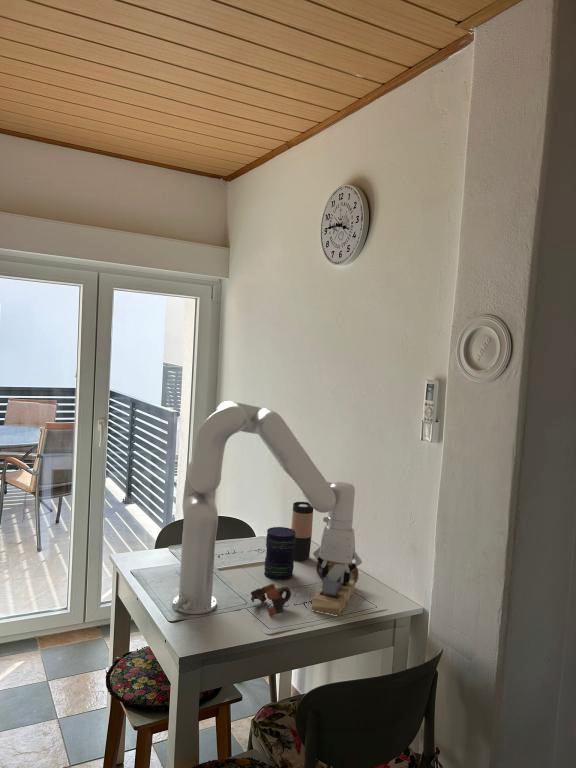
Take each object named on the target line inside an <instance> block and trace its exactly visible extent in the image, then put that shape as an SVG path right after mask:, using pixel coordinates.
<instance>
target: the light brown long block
mask: <svg viewBox="0 0 576 768" xmlns="http://www.w3.org/2000/svg"><path fill="white" fill-rule="evenodd" d="M355 587H356V583H355V580H354V579H350V581H349V582H348V583H347V584H346V587H345V586H341V588H340V589H339V590H338V595H337V599H336V598H331V597H327V596H323V592H322V586H321V587H320V588H319V589H318V591H317V592H316V593H315V594H314V596H313V597H312V602H311V611H312V610H314V611H319V612H323V613H329V614H333V615H337V616H338V615H339V614H340V615H341V613H342V612H343V610H344V609H345V607H346V606H345V605H348V603H347V602H349V601H350V600H349V599H351V598H352V597H353V595H354V593H355V591H356V589H355ZM351 596H352V597H351ZM343 608H344V609H343ZM342 609H343V610H342ZM341 611H342V612H341ZM340 612H341V613H340ZM340 615H339V616H340Z"/></svg>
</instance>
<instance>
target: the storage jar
mask: <svg viewBox="0 0 576 768" xmlns="http://www.w3.org/2000/svg"><path fill="white" fill-rule="evenodd" d="M266 532H267V534H266V539H265V542H266V543H265V547H266V553H265V555H266V556H265V558H264V567H263V568H264V572H263V575H264V577H265V578H267V579H269V580H274V581H279V580H282V581H287V580H291V579H292V578H293V577H292V576H293V573H294V566H295V565H294V563H295V560H294V559H293V554H294V549H295V535H296V532H295V531H294V530H293V529H291V528H289V527H285V526H284V527H283V526H274V527H269V528H268V529H267V530H266ZM290 578H291V579H290Z"/></svg>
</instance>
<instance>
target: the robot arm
mask: <svg viewBox="0 0 576 768" xmlns="http://www.w3.org/2000/svg"><path fill="white" fill-rule="evenodd" d="M240 432H242V433H247V434H248V433H249V434H255V435H258V436H259V438H260V439H261V440H262V442H263V443H264V445H265V446H266V447H267V449H268V450H269V452H270V453H271V455H272V456H273V457H274V459H275V460H276V462H277V463H278V465H279V466H280V467H281V468H282V470H283V471H284V472H285V473H286V474H287V475H288V476H289V477H290V478H291V479H292V480H293V481H294V483H295V484H296V486H298V488H299V490H301V492H302V496H303V498H304V499H305V502H308V503H309V504H310V505H311V506H312V507H313V510H314V511H316V512H318V513H322V514H323V513H325V514H326V513H327V514H328V515H327V516H326V517H325V516H324V517H323V520H322V521H323V522H324V523H326V525H325V526H324V528H323V531H322V536H321V539H320V540H321V543H320V546H319V547H318V548H317V549H315V550H314V551H313V553H312V555H313V556H314V558H316V560H317V562H319V563H320V564H321V567H322V577H323V578H324V577H325V576H326V575H327V574H328V571H329V566H328V562H329V561H331V562H336V563H341V564H344V566H345V569H346V570H345V572H344V580H343V585H346V584H347V583H348V582H349V581H350V571H352V570H353V569H354V568H355V567H357V568H358V566H360V565H361V564H362V563H363V560H362V558H360V556H359V554H358V553H357V552H356V537H355V530H354V528H353V520H354V506H355V496H356V495H355V494H356V493H355V492H356V491H355V490H356V489H355V486H354V485H353V483H352V484H351V483H348V482H343V481H336V482H331V481H327V480H326V478H325V477H324V476H323V474H322V473H321V471H320V470H319V469H318V468H317V466H316V464H314V462H313V460H312V459H311V457H310V456H309V454H308V453H307V451H306V450H305V448H304V447H303V446H302V444H301V443H300V441H299V440H298V438H297V437H296V436H295V435H294V433H293V431H292V430H291V429H290V427H289V425H288V423H286V421H285V419H284V418H283V416H281V414H279V413H278V412H276V411H274V410H273V409H270V408H266V407H261V406H255V405H250V404H247V403H246V404H245V403H243V402H242V403H241V402H237V401H231V400H226V401H223V402H221V403H220V404H219V405H218V406H217V407H216V409H215V412H213V413H212V414H210V415H209V416H208V417H207V418H206V419H205V420H204V422H203V423H202V424H201V425H200V427H199V429H198V431H197V435H196V440H195V443H194V449H193V456H192V459H191V460H190V461H189V464H188V466H187V469H186V474H185V481H184V488H183V498H182V515H183V525H182V527H183V528H182V536H181V537H182V538H181V539H182V541H181V550H180V551H181V552H180V553H181V556H180V571H179V584H178V585H179V589H178V595H177V596H176V597H174V599H173V600H172V605H171V608H172V610H174V611H177V612H179V613H183V614H187V615H203V614H207V613H209V612H212V611H214V610H215V609H216V607H217V605H218V604H217V603H218V601H217V599H216V598H215V597H214V596H213V584H214V569H215V551H216V538H217V530H218V523H219V514H218V509H217V506H216V504H215V498H216V497H215V496H216V490H217V489H218V487H219V486H220V484H221V481H222V470H223V460H224V454H225V448H226V445H227V442H228V441H229V438H230V437H232V436H233V435H235V434H237V433H240ZM353 560H355V562H353ZM351 562H352V563H353V564H352V565H351Z"/></svg>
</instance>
